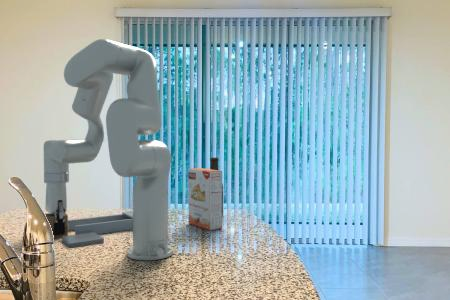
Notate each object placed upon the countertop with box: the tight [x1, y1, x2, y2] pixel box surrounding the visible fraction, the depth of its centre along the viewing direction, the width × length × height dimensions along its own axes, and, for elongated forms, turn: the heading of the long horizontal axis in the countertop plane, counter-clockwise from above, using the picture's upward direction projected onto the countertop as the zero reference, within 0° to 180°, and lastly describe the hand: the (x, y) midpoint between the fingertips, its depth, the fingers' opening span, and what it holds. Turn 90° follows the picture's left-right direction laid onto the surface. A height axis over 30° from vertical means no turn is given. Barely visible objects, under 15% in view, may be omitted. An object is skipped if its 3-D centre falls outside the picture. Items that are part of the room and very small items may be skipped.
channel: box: [68, 210, 133, 235], centre depth 137 cm, size 11×25×4 cm, turn 125°
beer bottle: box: [209, 157, 224, 217], centre depth 161 cm, size 8×8×24 cm
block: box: [44, 212, 69, 239], centre depth 127 cm, size 6×6×7 cm
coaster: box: [61, 232, 105, 248], centre depth 120 cm, size 10×10×1 cm
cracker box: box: [187, 167, 223, 232], centre depth 141 cm, size 14×6×21 cm, turn 37°
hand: (57, 231), depth 127 cm, fingers closed on block, 6 cm apart
